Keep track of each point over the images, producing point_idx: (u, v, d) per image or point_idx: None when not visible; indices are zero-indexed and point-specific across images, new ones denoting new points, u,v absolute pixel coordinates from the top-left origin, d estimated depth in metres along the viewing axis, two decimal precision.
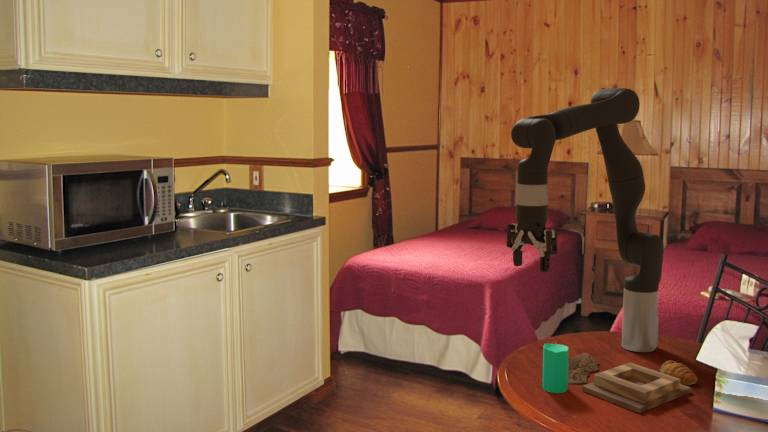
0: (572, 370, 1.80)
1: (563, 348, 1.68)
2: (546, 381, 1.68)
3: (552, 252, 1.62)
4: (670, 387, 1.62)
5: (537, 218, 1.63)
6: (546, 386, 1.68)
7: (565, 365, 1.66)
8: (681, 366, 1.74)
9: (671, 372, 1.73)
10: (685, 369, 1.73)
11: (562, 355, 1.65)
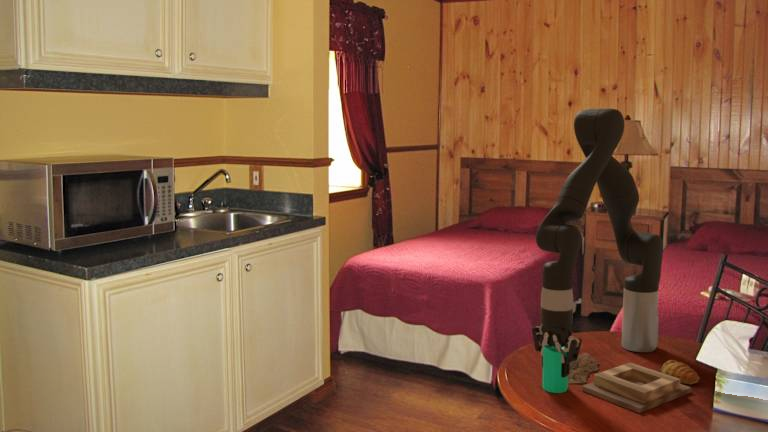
0: (572, 370, 1.80)
1: (563, 348, 1.68)
2: (546, 380, 1.68)
3: (572, 360, 1.64)
4: (670, 387, 1.62)
5: (562, 323, 1.63)
6: (546, 386, 1.68)
7: None
8: (683, 365, 1.75)
9: (673, 372, 1.73)
10: (687, 368, 1.73)
11: None
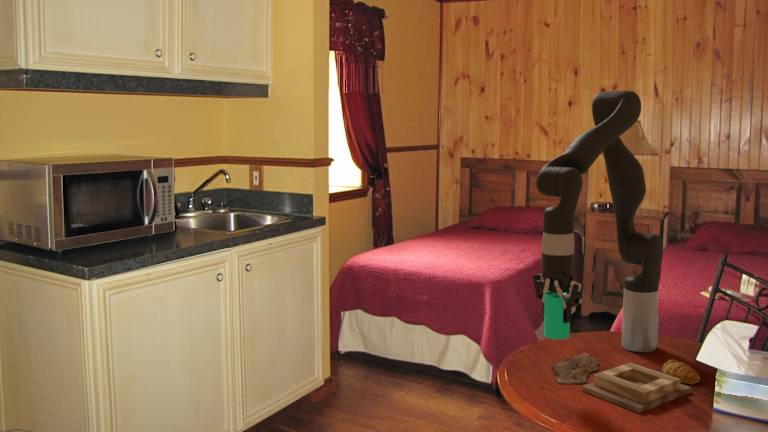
0: (572, 370, 1.80)
1: None
2: (547, 327, 1.66)
3: (574, 305, 1.62)
4: (670, 387, 1.62)
5: (563, 267, 1.61)
6: (548, 333, 1.66)
7: None
8: (683, 365, 1.75)
9: (673, 372, 1.74)
10: (687, 368, 1.74)
11: None
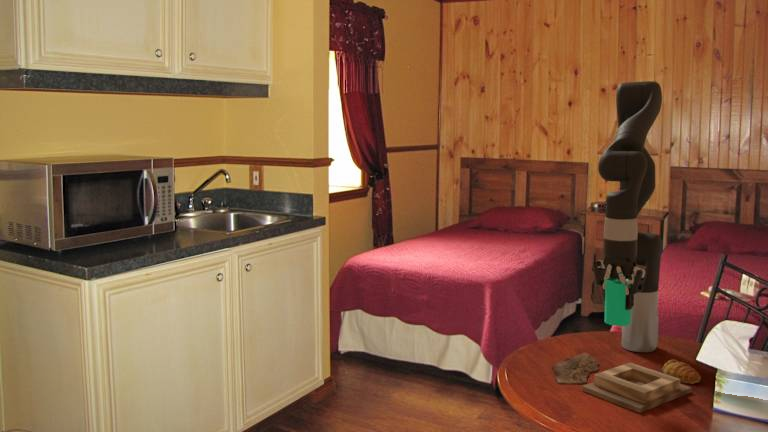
0: (572, 370, 1.80)
1: None
2: (608, 314, 1.64)
3: (637, 291, 1.59)
4: (670, 387, 1.62)
5: (627, 253, 1.59)
6: (609, 319, 1.64)
7: None
8: (684, 365, 1.75)
9: (674, 371, 1.74)
10: (688, 368, 1.74)
11: None
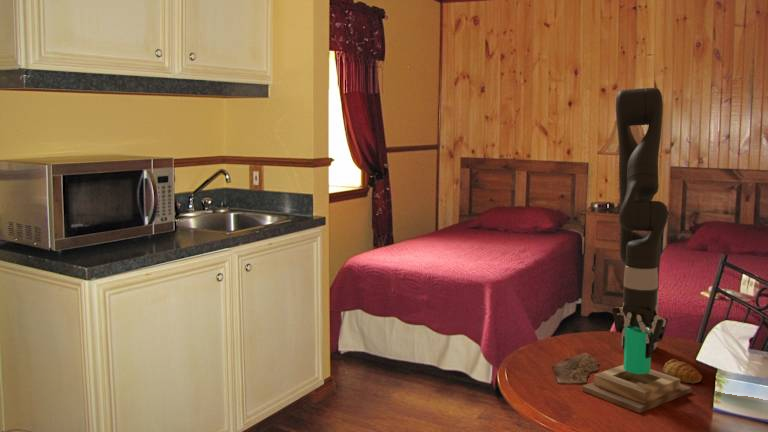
0: (572, 370, 1.80)
1: (646, 328, 1.65)
2: (628, 362, 1.64)
3: (658, 340, 1.60)
4: (670, 387, 1.62)
5: (647, 302, 1.60)
6: (629, 367, 1.64)
7: None
8: (685, 364, 1.75)
9: (675, 371, 1.74)
10: (689, 367, 1.74)
11: None
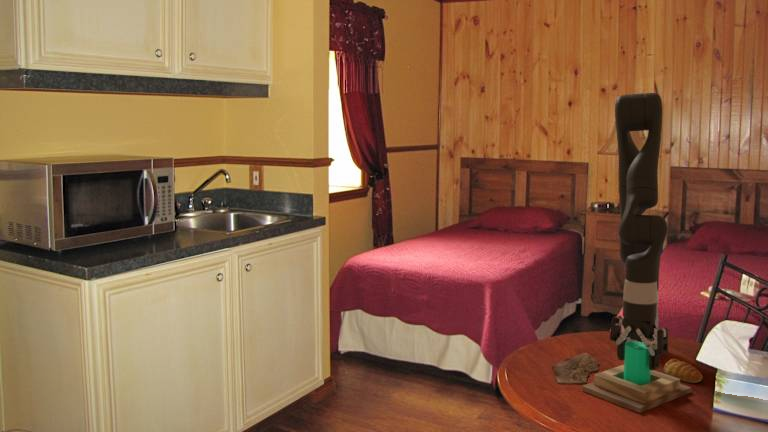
0: (572, 370, 1.80)
1: None
2: (628, 379, 1.65)
3: (663, 352, 1.59)
4: (670, 387, 1.62)
5: (647, 316, 1.60)
6: None
7: None
8: (685, 364, 1.75)
9: (676, 371, 1.74)
10: (690, 367, 1.74)
11: (646, 353, 1.63)
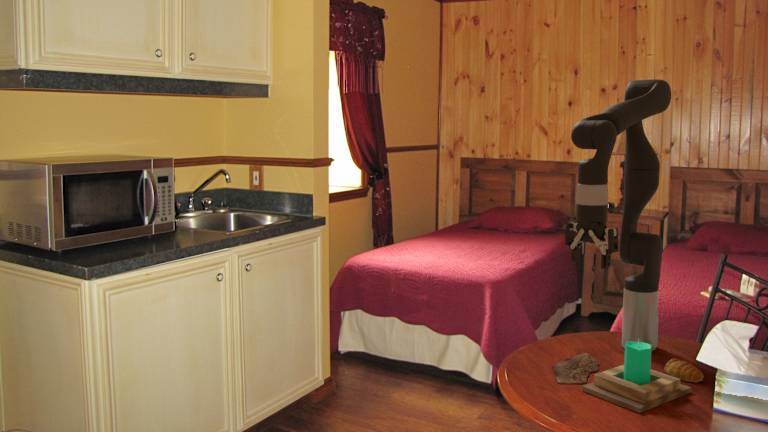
0: (572, 370, 1.80)
1: (645, 346, 1.66)
2: (628, 379, 1.65)
3: (614, 250, 1.67)
4: (670, 387, 1.62)
5: (598, 217, 1.68)
6: None
7: (648, 363, 1.63)
8: (686, 364, 1.76)
9: (677, 370, 1.74)
10: (691, 367, 1.75)
11: (646, 353, 1.63)
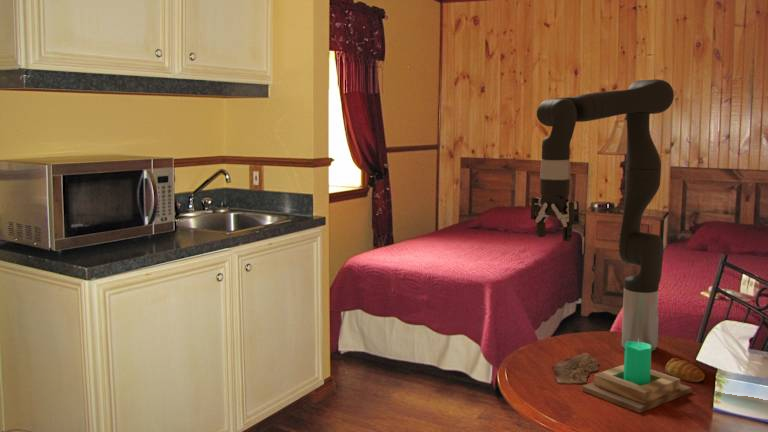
0: (572, 370, 1.80)
1: (645, 346, 1.66)
2: (628, 379, 1.65)
3: (574, 222, 1.74)
4: (670, 387, 1.62)
5: (560, 191, 1.76)
6: None
7: (648, 363, 1.63)
8: (687, 363, 1.76)
9: (678, 370, 1.75)
10: (691, 366, 1.75)
11: (646, 353, 1.63)
